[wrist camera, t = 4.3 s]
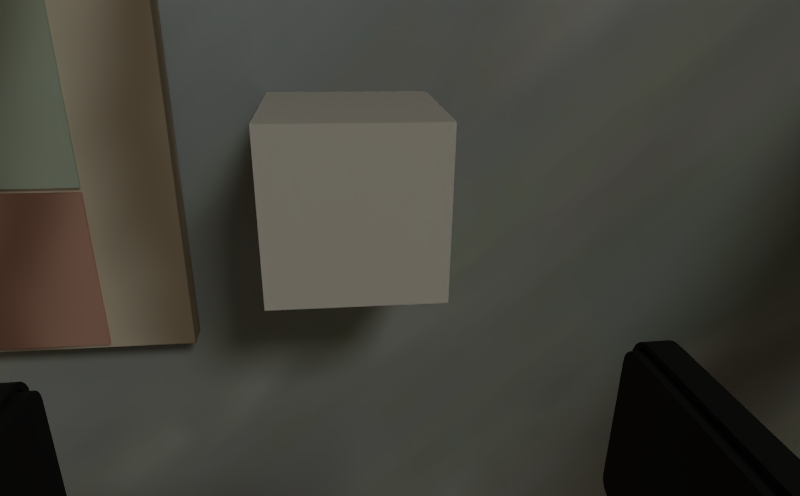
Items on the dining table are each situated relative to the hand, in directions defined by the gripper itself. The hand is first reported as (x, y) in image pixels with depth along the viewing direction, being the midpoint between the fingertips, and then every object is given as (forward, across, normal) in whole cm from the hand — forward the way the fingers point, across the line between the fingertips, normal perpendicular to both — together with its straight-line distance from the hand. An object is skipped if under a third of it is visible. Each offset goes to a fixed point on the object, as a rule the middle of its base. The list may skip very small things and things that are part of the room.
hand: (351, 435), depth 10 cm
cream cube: (+16, -1, 0) cm, 16 cm away
